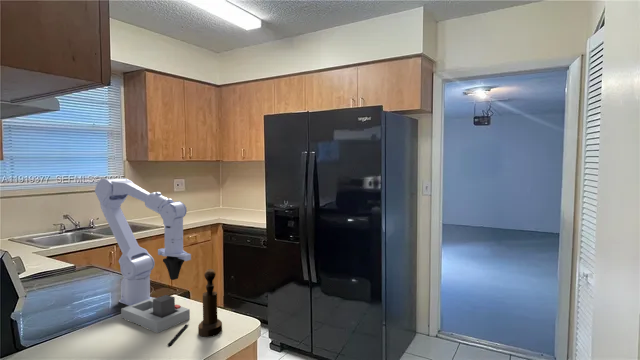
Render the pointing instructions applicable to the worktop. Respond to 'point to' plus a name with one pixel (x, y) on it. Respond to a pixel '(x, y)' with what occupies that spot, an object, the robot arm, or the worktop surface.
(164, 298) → the plug
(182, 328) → the thin black rod
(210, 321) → the dark brown pepper mill
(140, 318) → the socket plate
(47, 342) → the worktop surface
